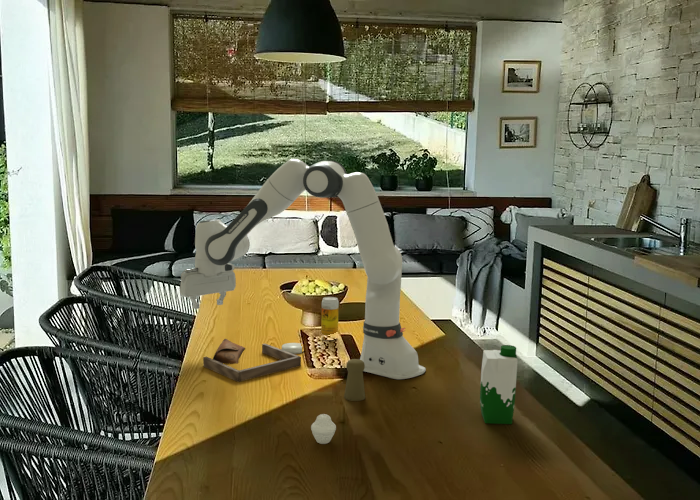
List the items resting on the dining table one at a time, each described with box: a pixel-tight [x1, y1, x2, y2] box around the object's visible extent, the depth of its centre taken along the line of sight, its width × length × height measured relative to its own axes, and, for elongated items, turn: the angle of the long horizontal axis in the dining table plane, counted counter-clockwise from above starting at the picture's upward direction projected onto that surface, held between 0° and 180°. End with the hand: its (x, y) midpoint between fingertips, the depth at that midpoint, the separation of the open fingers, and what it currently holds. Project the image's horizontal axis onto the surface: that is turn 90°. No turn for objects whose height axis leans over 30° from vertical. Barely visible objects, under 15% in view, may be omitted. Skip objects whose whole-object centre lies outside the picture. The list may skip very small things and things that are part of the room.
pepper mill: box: [343, 358, 366, 402], centre depth 214 cm, size 6×6×11 cm
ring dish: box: [281, 342, 302, 355], centre depth 258 cm, size 8×8×2 cm
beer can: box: [320, 296, 340, 335], centre depth 272 cm, size 6×6×15 cm
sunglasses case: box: [212, 338, 246, 365], centre depth 250 cm, size 18×7×7 cm, turn 1°
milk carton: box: [479, 344, 519, 425], centre depth 200 cm, size 9×9×20 cm
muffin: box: [310, 413, 337, 445], centre depth 184 cm, size 6×6×7 cm
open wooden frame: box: [202, 343, 302, 383], centre depth 240 cm, size 19×24×3 cm
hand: (208, 306), depth 255 cm, fingers open, 8 cm apart
